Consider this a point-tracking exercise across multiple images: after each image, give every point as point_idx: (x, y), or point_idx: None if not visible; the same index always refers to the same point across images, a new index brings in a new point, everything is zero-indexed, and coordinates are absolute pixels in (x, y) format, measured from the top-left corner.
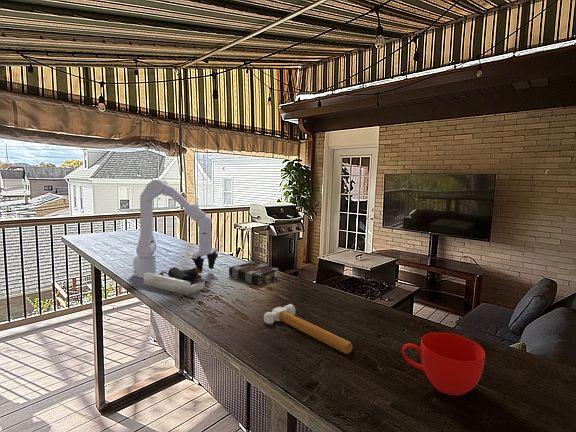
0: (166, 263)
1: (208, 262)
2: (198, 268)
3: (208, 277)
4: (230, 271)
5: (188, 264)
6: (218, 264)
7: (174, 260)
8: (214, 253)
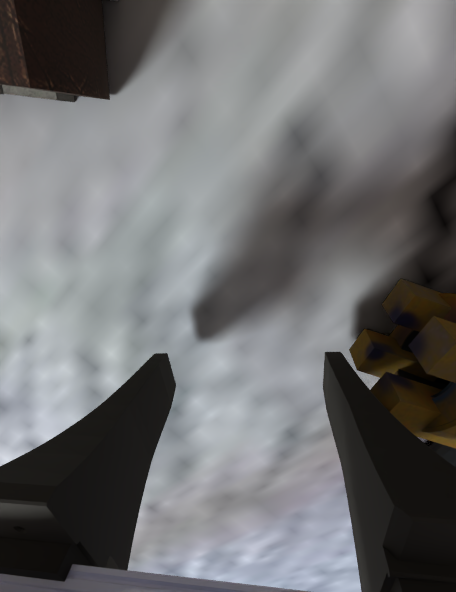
0: (234, 575)
1: (155, 443)
2: (403, 402)
3: (297, 268)
4: (74, 44)
5: (169, 518)
6: (19, 417)
7: (176, 573)
8: (20, 540)
